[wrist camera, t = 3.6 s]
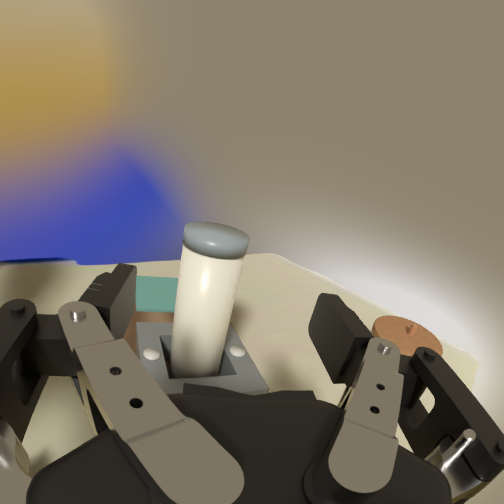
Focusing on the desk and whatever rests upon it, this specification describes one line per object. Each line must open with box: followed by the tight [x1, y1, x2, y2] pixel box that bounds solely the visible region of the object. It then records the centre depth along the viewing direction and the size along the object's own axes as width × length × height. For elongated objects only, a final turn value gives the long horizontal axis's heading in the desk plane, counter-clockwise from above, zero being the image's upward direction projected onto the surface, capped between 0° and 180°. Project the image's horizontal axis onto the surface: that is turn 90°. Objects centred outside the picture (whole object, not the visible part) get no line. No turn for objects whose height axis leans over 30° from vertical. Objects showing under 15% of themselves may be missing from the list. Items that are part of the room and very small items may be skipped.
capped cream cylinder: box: [169, 222, 250, 379], centre depth 26 cm, size 5×5×16 cm
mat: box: [135, 276, 178, 312], centre depth 43 cm, size 10×10×1 cm
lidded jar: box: [371, 316, 443, 356], centre depth 34 cm, size 11×11×9 cm
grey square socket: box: [136, 322, 269, 395], centre depth 27 cm, size 11×11×4 cm
